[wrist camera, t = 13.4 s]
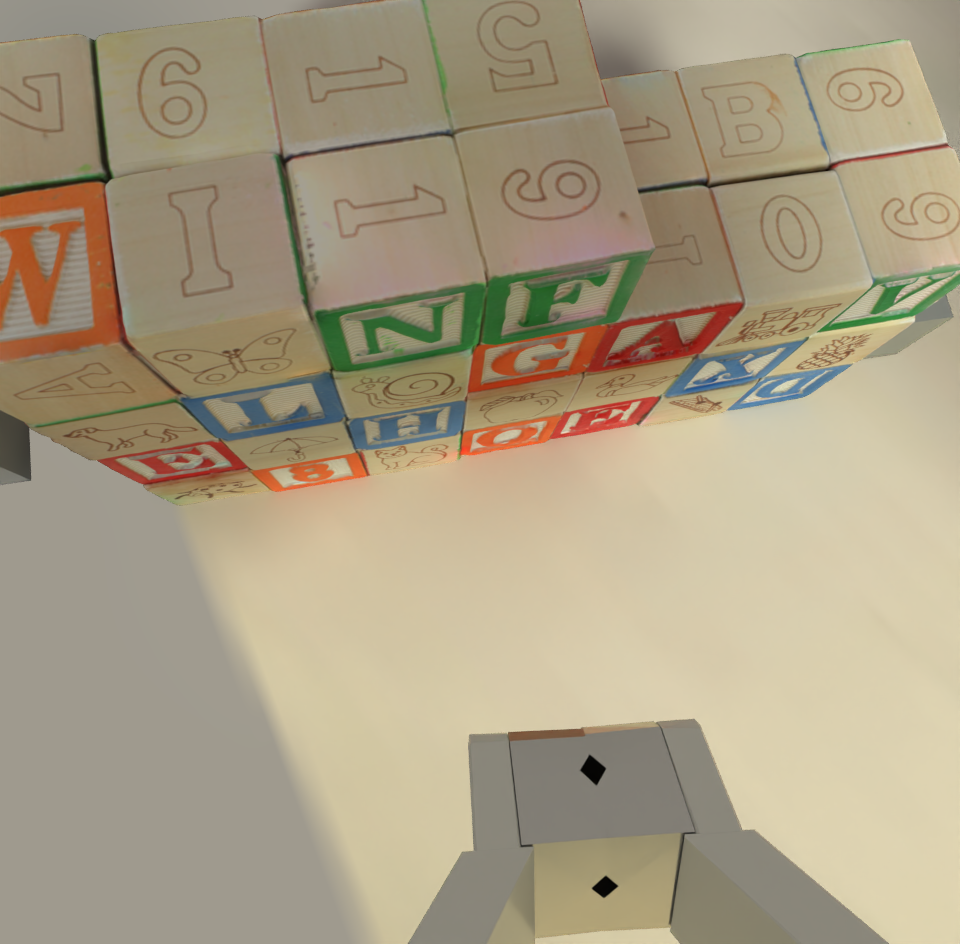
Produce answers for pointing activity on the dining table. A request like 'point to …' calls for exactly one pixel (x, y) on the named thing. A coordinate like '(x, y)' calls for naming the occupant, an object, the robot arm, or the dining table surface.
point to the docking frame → (6, 438)
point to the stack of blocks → (440, 237)
